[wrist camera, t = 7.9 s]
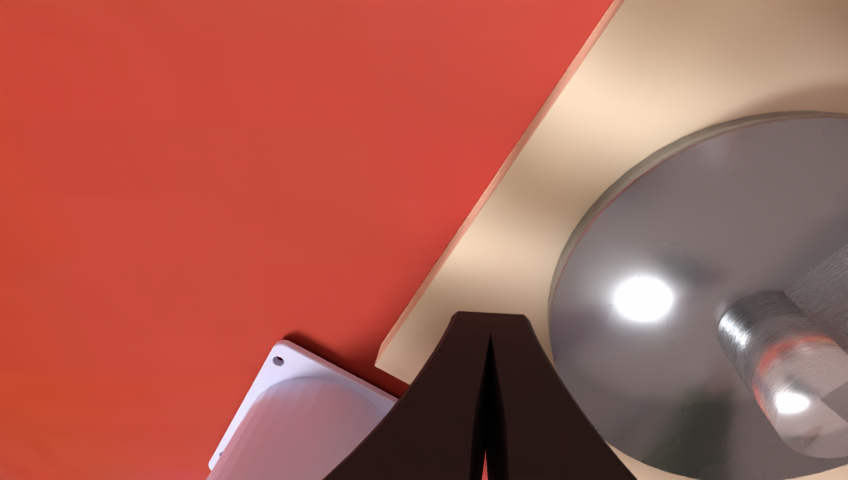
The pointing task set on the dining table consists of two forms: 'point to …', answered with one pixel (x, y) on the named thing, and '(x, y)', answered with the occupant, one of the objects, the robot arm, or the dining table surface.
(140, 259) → the dining table surface
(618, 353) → the dial
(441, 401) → the robot arm
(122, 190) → the dining table surface
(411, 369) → the stand plate
